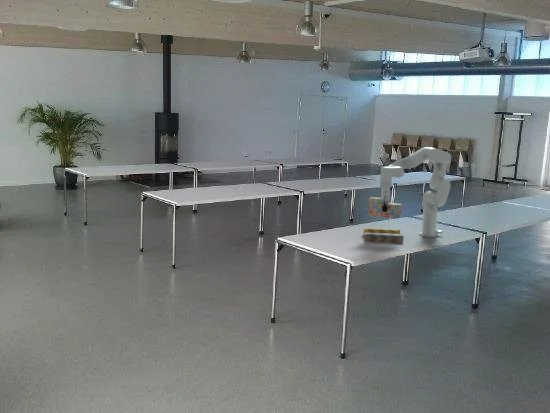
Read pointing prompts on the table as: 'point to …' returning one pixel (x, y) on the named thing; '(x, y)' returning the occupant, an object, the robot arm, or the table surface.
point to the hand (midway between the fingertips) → (384, 210)
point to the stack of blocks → (377, 205)
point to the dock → (382, 235)
